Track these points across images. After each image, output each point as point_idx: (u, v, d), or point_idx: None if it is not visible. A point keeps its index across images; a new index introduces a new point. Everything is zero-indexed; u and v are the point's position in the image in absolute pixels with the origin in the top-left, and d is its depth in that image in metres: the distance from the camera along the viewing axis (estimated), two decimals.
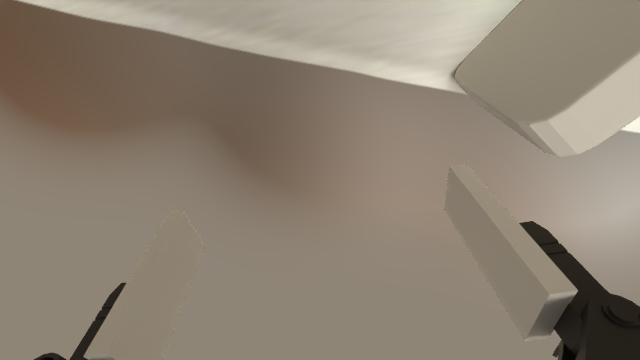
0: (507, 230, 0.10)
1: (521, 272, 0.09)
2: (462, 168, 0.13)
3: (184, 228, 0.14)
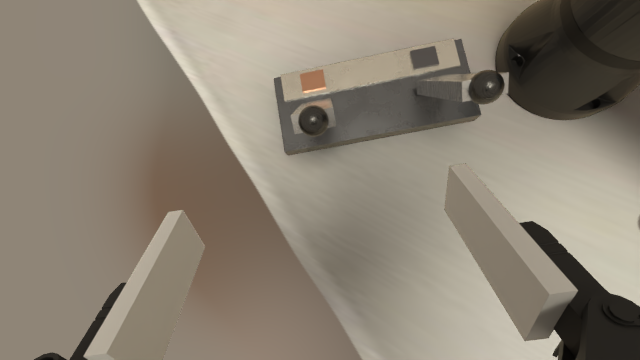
0: (507, 230, 0.10)
1: (521, 272, 0.09)
2: (462, 168, 0.13)
3: (184, 228, 0.14)
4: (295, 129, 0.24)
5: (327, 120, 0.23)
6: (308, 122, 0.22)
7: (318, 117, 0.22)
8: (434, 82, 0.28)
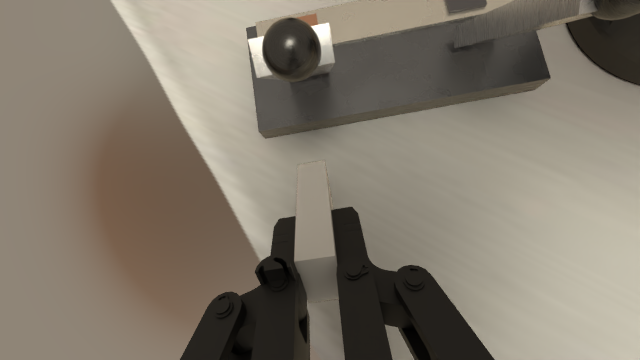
0: (318, 213, 0.12)
1: None
2: (319, 164, 0.15)
3: None
4: (258, 67, 0.13)
5: (317, 46, 0.12)
6: (279, 46, 0.11)
7: (299, 36, 0.11)
8: (496, 10, 0.17)
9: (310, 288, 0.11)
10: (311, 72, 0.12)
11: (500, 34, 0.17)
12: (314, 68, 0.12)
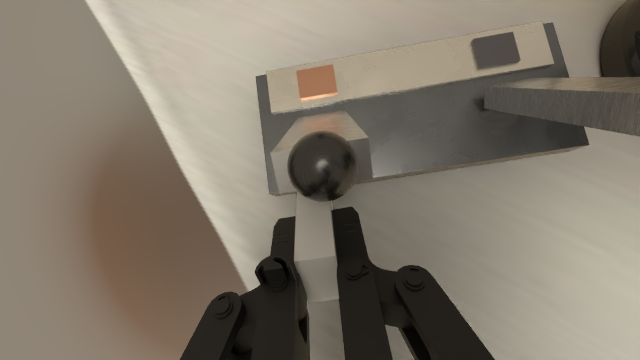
0: (318, 213, 0.12)
1: None
2: None
3: None
4: (281, 183, 0.11)
5: (355, 168, 0.10)
6: (311, 174, 0.09)
7: (335, 163, 0.09)
8: (545, 91, 0.15)
9: (310, 288, 0.11)
10: (345, 192, 0.10)
11: (548, 118, 0.15)
12: (349, 188, 0.10)
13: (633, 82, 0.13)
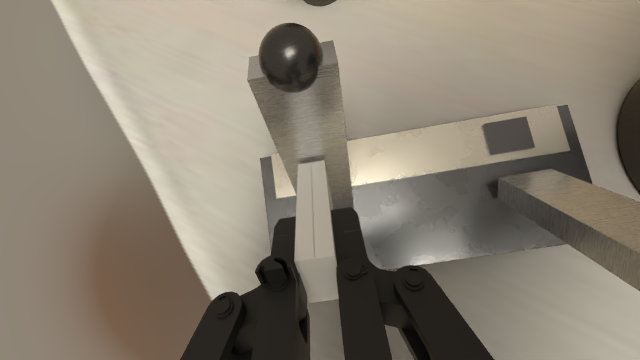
0: (318, 213, 0.12)
1: None
2: (318, 164, 0.15)
3: None
4: (251, 73, 0.11)
5: (317, 42, 0.11)
6: (274, 29, 0.10)
7: (297, 24, 0.11)
8: (567, 217, 0.14)
9: (310, 288, 0.11)
10: (308, 63, 0.10)
11: (571, 245, 0.14)
12: (312, 60, 0.11)
13: None
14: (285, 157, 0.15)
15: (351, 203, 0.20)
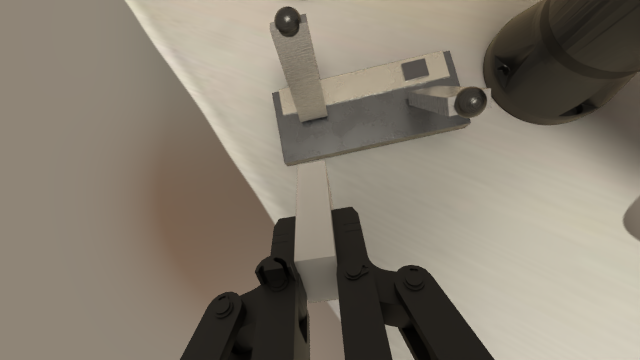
0: (318, 213, 0.12)
1: None
2: (319, 164, 0.15)
3: None
4: (271, 29, 0.27)
5: (298, 14, 0.26)
6: (280, 9, 0.26)
7: (289, 7, 0.26)
8: (424, 95, 0.30)
9: (310, 288, 0.11)
10: (295, 22, 0.26)
11: (426, 109, 0.30)
12: (296, 21, 0.26)
13: (454, 90, 0.27)
14: (287, 75, 0.31)
15: (325, 110, 0.35)
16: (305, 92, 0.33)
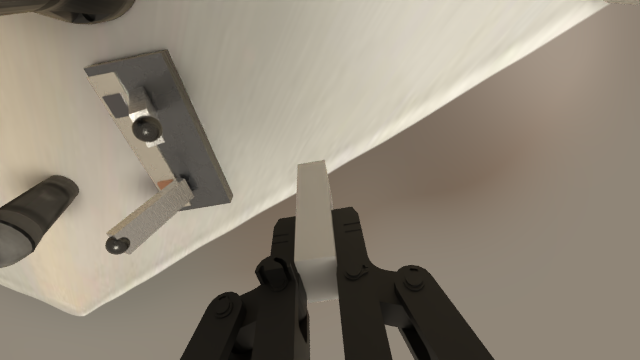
0: (318, 213, 0.12)
1: None
2: (319, 164, 0.15)
3: None
4: (127, 253, 0.37)
5: (109, 241, 0.35)
6: None
7: (106, 247, 0.35)
8: None
9: (310, 288, 0.11)
10: (117, 243, 0.35)
11: None
12: (116, 242, 0.35)
13: None
14: (158, 226, 0.40)
15: (180, 183, 0.43)
16: (169, 206, 0.41)
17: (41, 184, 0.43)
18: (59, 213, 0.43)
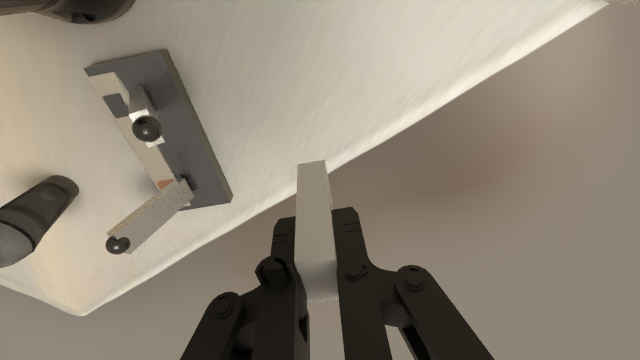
0: (318, 213, 0.12)
1: None
2: (319, 164, 0.15)
3: None
4: (127, 252, 0.37)
5: (109, 241, 0.35)
6: (110, 252, 0.36)
7: (106, 247, 0.35)
8: None
9: (310, 288, 0.11)
10: (117, 243, 0.35)
11: None
12: (116, 242, 0.35)
13: None
14: (159, 226, 0.40)
15: (180, 183, 0.43)
16: (169, 206, 0.41)
17: (41, 184, 0.43)
18: (59, 213, 0.43)
